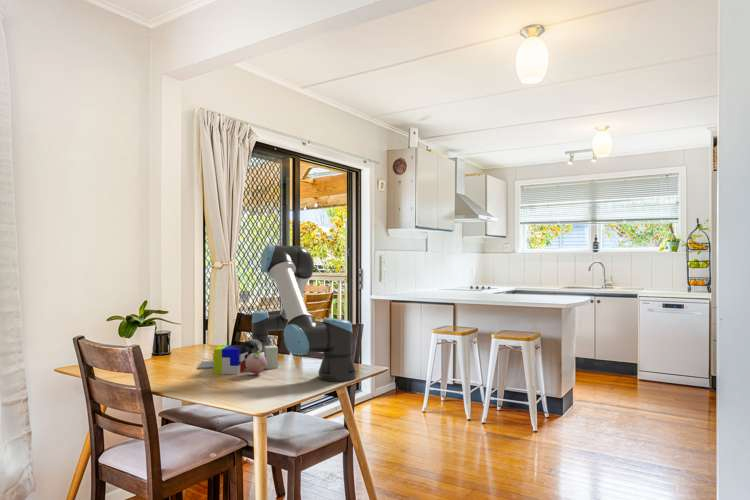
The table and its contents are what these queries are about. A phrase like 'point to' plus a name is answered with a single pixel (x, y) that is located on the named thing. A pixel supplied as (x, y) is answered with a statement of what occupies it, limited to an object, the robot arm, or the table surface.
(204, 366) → the mat
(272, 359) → the sage block
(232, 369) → the puzzle toy
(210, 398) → the table surface
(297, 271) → the robot arm
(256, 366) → the decorative fruit
